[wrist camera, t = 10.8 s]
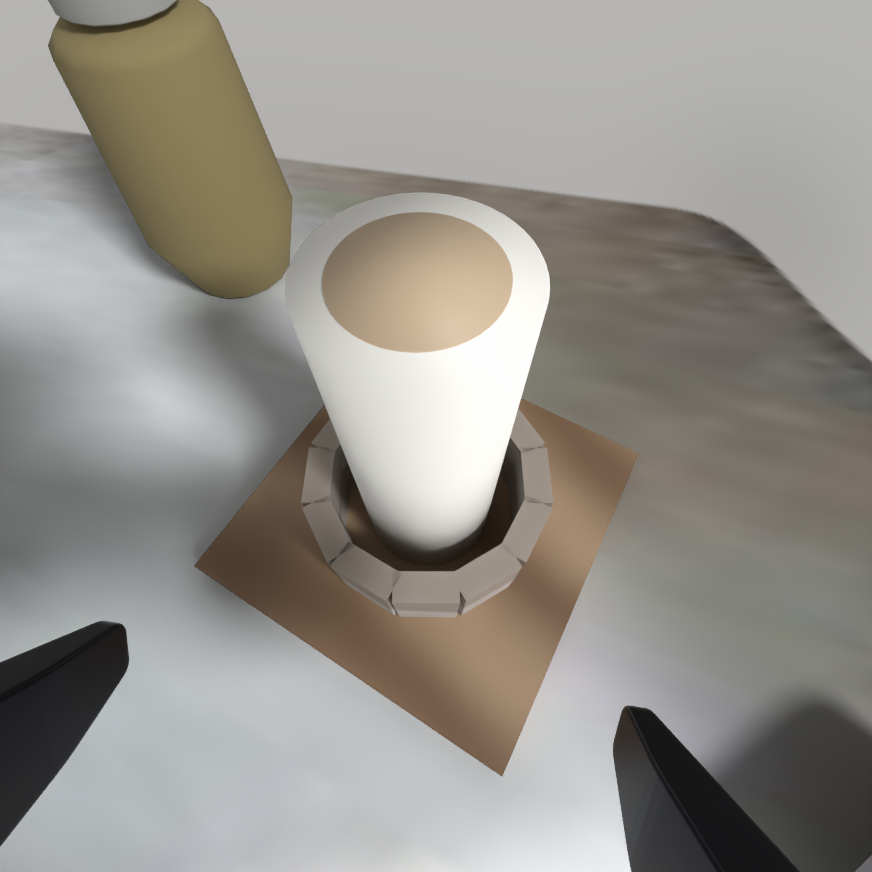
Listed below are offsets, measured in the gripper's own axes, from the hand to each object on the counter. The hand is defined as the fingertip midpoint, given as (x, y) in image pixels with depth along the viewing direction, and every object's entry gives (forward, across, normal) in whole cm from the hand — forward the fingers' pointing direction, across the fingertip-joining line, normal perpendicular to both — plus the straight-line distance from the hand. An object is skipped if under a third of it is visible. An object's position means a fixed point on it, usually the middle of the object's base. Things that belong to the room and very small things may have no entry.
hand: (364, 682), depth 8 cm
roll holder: (+13, 0, +3) cm, 13 cm away
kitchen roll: (+12, 0, +2) cm, 12 cm away
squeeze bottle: (+23, +14, -7) cm, 28 cm away
